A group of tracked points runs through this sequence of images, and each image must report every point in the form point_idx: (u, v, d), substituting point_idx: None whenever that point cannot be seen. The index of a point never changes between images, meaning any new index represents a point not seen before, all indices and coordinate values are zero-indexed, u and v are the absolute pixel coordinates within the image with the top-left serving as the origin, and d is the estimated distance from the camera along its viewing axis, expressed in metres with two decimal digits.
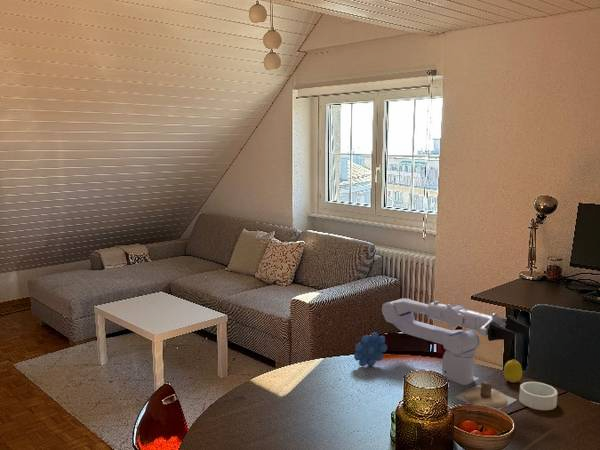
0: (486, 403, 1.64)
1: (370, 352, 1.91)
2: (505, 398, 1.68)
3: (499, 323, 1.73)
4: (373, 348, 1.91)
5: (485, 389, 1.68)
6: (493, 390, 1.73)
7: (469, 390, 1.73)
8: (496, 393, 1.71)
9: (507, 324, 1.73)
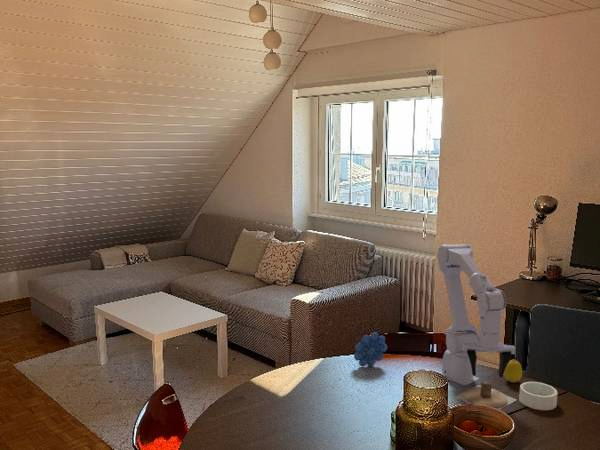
0: (486, 403, 1.64)
1: (370, 352, 1.91)
2: (505, 398, 1.68)
3: None
4: (373, 348, 1.91)
5: (485, 389, 1.68)
6: (493, 390, 1.73)
7: (469, 390, 1.73)
8: (496, 393, 1.71)
9: (501, 354, 1.66)
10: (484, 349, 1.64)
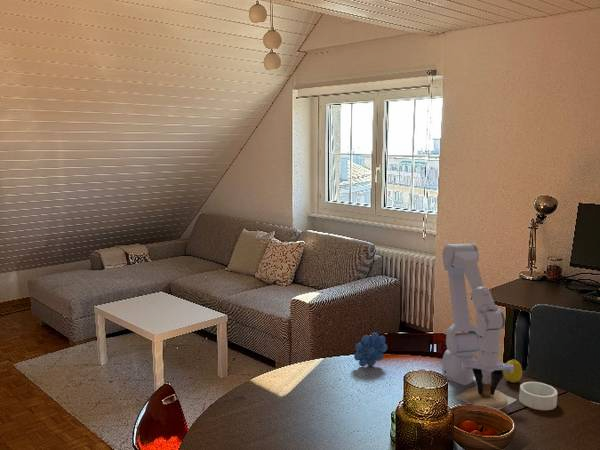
0: (486, 403, 1.64)
1: (370, 352, 1.91)
2: (505, 398, 1.68)
3: None
4: (373, 348, 1.91)
5: (485, 389, 1.68)
6: None
7: (469, 390, 1.73)
8: (496, 393, 1.71)
9: (493, 372, 1.68)
10: (483, 368, 1.65)
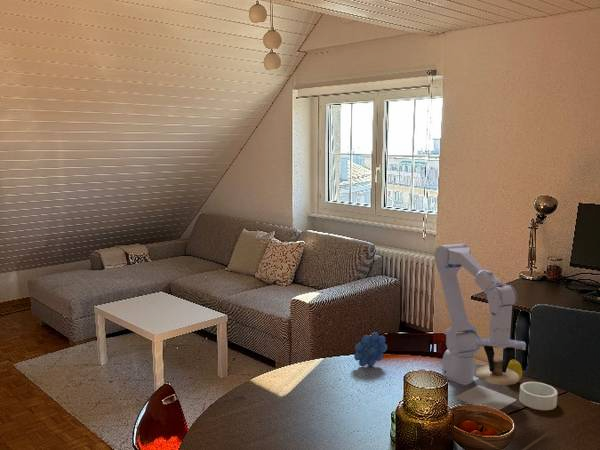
0: (497, 380, 1.63)
1: (370, 352, 1.91)
2: (517, 376, 1.66)
3: None
4: (373, 348, 1.91)
5: (497, 366, 1.66)
6: None
7: (480, 368, 1.71)
8: (507, 371, 1.69)
9: (505, 349, 1.66)
10: (494, 345, 1.64)
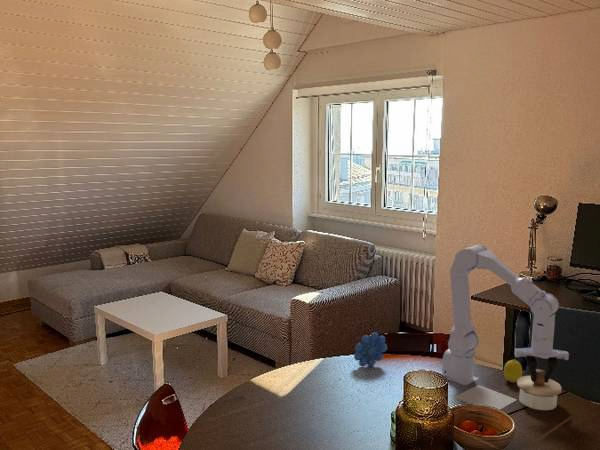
0: (541, 391, 1.62)
1: (370, 352, 1.91)
2: (559, 386, 1.65)
3: None
4: (373, 348, 1.91)
5: (539, 377, 1.65)
6: None
7: (521, 379, 1.70)
8: (549, 382, 1.68)
9: (547, 359, 1.65)
10: (537, 355, 1.63)
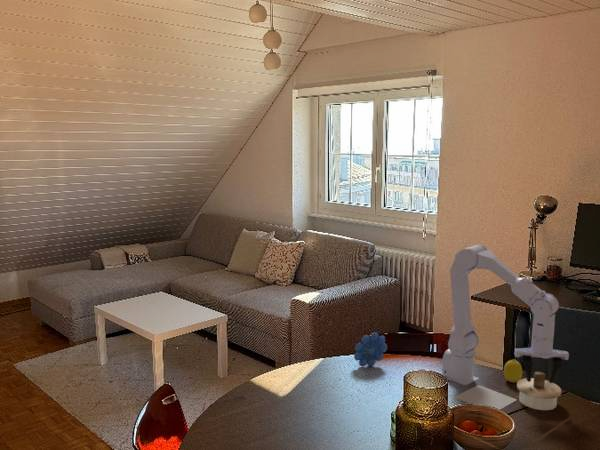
0: (541, 394, 1.62)
1: (370, 352, 1.91)
2: (559, 389, 1.65)
3: None
4: (373, 348, 1.91)
5: (539, 380, 1.65)
6: (545, 381, 1.70)
7: (521, 381, 1.70)
8: (549, 384, 1.68)
9: (551, 359, 1.65)
10: (537, 355, 1.63)
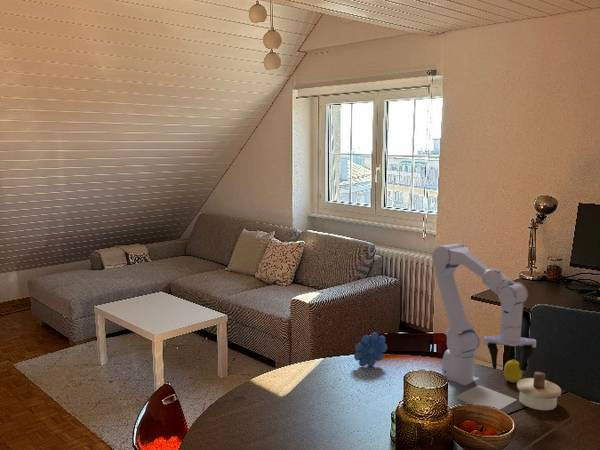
0: (541, 394, 1.62)
1: (370, 352, 1.91)
2: (559, 389, 1.65)
3: None
4: (373, 348, 1.91)
5: (539, 380, 1.65)
6: (545, 381, 1.70)
7: (521, 381, 1.70)
8: (549, 384, 1.68)
9: (522, 347, 1.67)
10: (505, 342, 1.65)
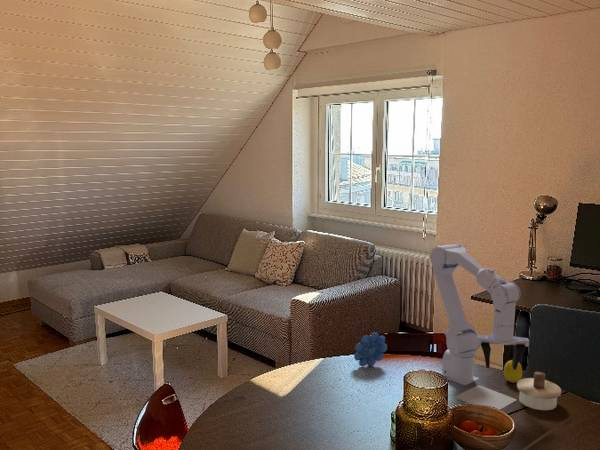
0: (541, 394, 1.62)
1: (370, 352, 1.91)
2: (559, 389, 1.65)
3: None
4: (373, 348, 1.91)
5: (539, 380, 1.65)
6: (545, 381, 1.70)
7: (521, 381, 1.70)
8: (549, 384, 1.68)
9: (515, 346, 1.67)
10: (498, 341, 1.65)
